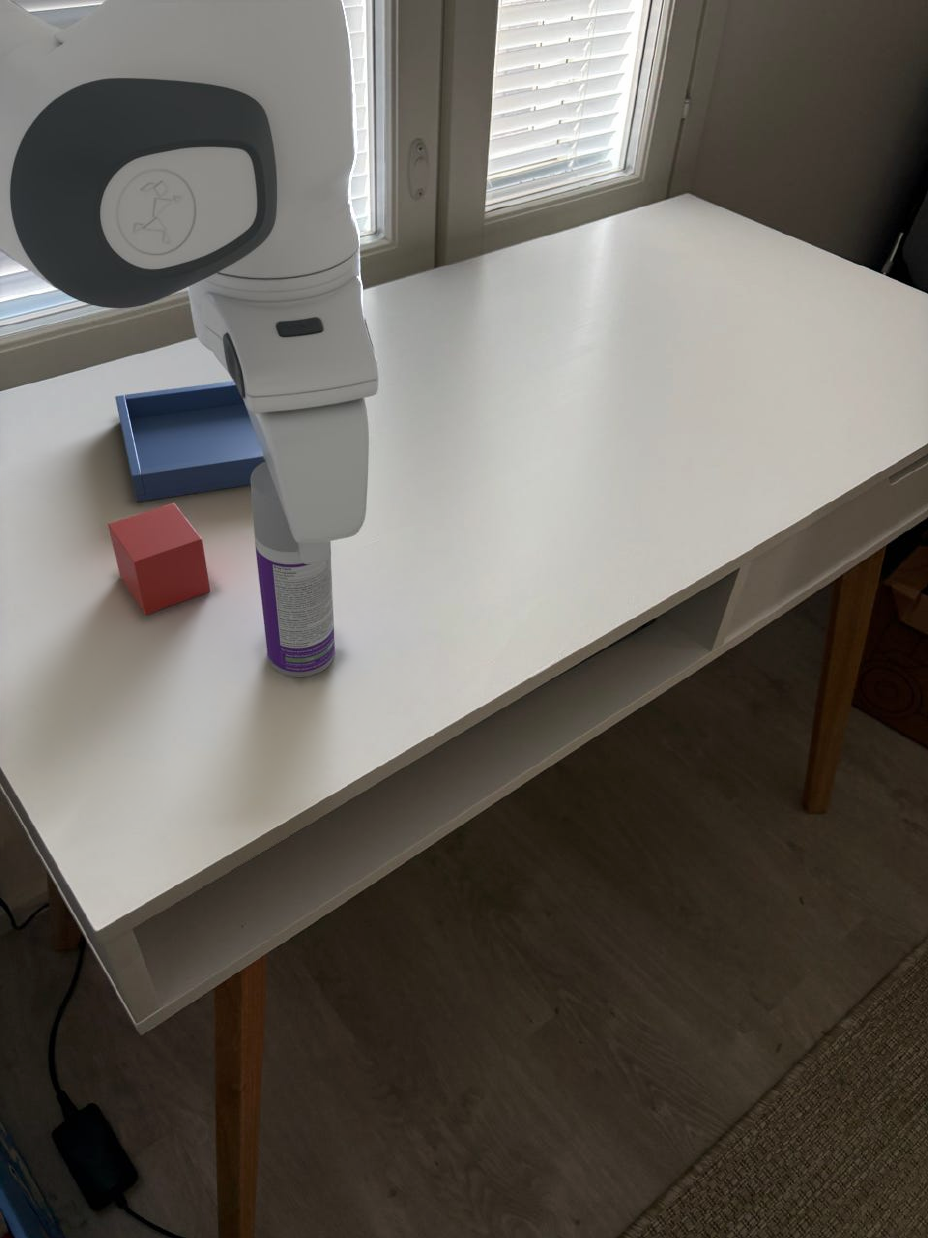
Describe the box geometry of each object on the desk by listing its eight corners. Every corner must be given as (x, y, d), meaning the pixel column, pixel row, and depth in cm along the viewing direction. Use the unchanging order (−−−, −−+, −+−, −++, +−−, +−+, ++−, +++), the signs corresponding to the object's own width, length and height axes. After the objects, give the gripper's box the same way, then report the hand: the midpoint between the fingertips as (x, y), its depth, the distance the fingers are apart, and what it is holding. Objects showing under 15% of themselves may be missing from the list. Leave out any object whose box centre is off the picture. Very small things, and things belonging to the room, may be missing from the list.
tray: (136, 502, 82) (131, 476, 80) (120, 421, 91) (114, 395, 89) (324, 473, 87) (323, 447, 85) (291, 398, 95) (289, 373, 93)
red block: (145, 615, 73) (134, 562, 69) (119, 576, 76) (107, 523, 72) (210, 591, 75) (202, 538, 71) (182, 554, 78) (173, 502, 74)
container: (266, 633, 72) (247, 456, 62) (332, 627, 73) (324, 452, 63) (268, 680, 69) (248, 502, 58) (337, 674, 69) (330, 497, 59)
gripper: (185, 222, 59) (215, 426, 68) (253, 403, 45) (279, 626, 54) (292, 212, 60) (307, 412, 70) (389, 383, 47) (391, 603, 56)
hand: (295, 508), depth 62 cm, fingers open, 8 cm apart
